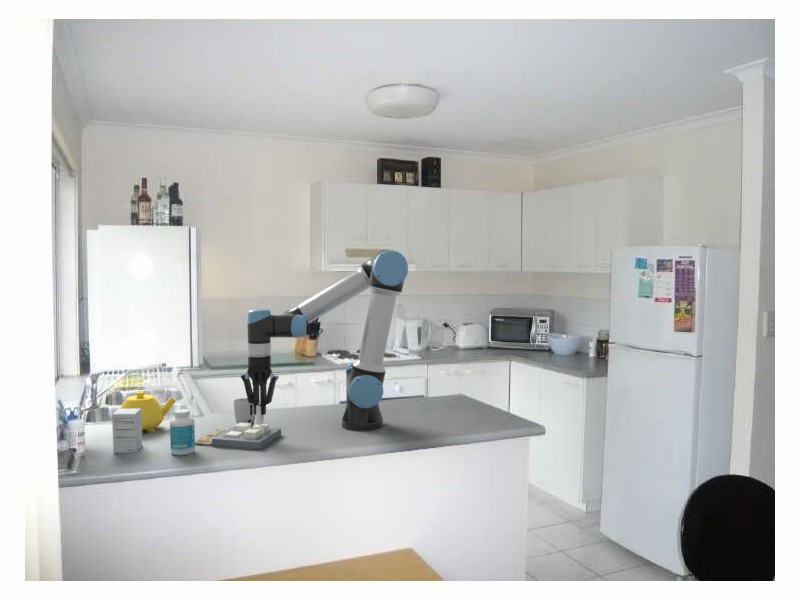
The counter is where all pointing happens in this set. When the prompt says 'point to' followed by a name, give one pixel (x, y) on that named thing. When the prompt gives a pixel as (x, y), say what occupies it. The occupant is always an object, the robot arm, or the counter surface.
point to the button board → (246, 440)
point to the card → (208, 438)
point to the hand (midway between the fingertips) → (260, 423)
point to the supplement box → (127, 430)
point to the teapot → (148, 409)
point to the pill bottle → (182, 433)
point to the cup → (244, 411)
